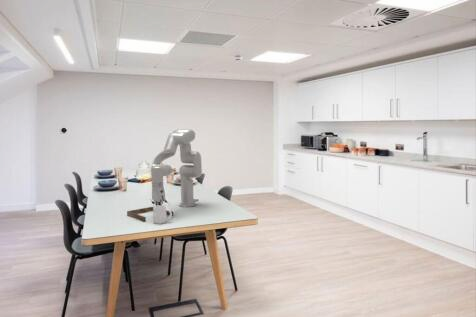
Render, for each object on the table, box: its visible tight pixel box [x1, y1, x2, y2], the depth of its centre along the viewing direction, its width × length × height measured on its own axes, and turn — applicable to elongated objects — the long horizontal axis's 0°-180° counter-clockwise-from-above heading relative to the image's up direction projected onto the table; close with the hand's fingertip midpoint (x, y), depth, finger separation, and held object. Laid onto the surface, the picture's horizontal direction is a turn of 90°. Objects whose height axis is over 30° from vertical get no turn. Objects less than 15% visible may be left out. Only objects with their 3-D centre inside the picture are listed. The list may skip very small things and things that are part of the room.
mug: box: [152, 204, 173, 225], centre depth 236 cm, size 12×8×10 cm
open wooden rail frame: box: [126, 205, 174, 223], centre depth 254 cm, size 22×24×3 cm
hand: (158, 211), depth 246 cm, fingers closed
